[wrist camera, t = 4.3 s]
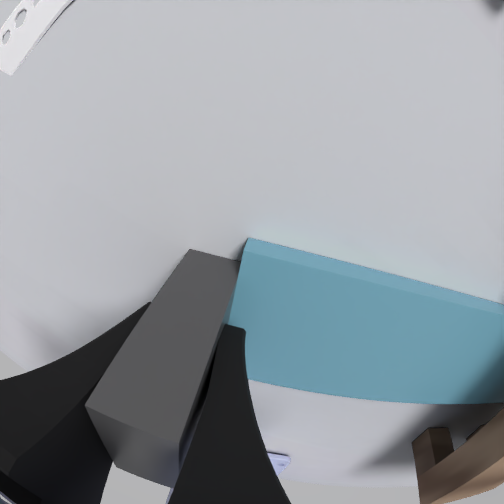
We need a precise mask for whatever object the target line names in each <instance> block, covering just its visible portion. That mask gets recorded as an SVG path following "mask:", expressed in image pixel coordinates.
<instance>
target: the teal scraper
mask: <svg viewBox="0 0 504 504" xmlns="http://www.w3.org/2000/svg"><path fill="white" fill-rule="evenodd" d="M225 324H228V325H232V326H236V327H240V328H244V330H245V331H246V337H245V359H246V370H247V377H248V379H250V380H255V381H259V382H263V383H268V384H273V385H278V386H282V387H288V388H293V389H298V390H304V391H310V392H315V393H322V394H328V395H335V396H342V397H350V398H358V399H367V400H377V401H389V402H402V403H421V404H483V403H501V402H504V305H503V304H499V303H496V302H492V301H489V300H485V299H482V298H478V297H474V296H471V295H467V294H463V293H460V292H456V291H453V290H449V289H445V288H442V287H438V286H434V285H430V284H427V283H423V282H419V281H416V280H412V279H408V278H404V277H401V276H397V275H393V274H389V273H386V272H382V271H378V270H374V269H370V268H366V267H363V266H359V265H355V264H351V263H347V262H343V261H340V260H336V259H332V258H328V257H324V256H320V255H316V254H312V253H308V252H304V251H300V250H296V249H292V248H288V247H284V246H280V245H276V244H272V243H268V242H264V241H260V240H256V239H252V238H248V240H247V243H246V246H245V248H244V251H243V255H242V260H241V262H239V261H235V260H231V259H227V258H223V257H219V256H215V255H211V254H207V253H204V252H200V251H196V250H192V249H189V251H188V252H187V254H186V255H185V256H184V258H183V259H182V260H181V262H180V263H179V265H178V266H177V267H176V269H175V270H174V271H173V273H172V274H171V276H170V277H169V278H168V280H167V281H166V283H165V284H164V285H163V287H162V288H161V290H160V291H159V292H158V294H157V295H156V297H155V298H154V300H153V301H152V303H151V304H150V305H149V307H148V308H147V310H146V311H145V313H144V314H143V316H142V317H141V318H140V320H139V321H138V323H137V324H136V326H135V327H134V329H133V330H132V332H131V333H130V335H129V336H128V338H127V339H126V341H125V342H124V344H123V345H122V347H121V348H120V350H119V351H118V353H117V354H116V356H115V358H114V359H113V361H112V362H111V364H110V365H109V367H108V368H107V370H106V372H105V373H104V375H103V376H102V378H101V379H100V381H99V383H98V384H97V386H96V387H95V389H94V391H93V392H92V394H91V396H90V397H89V399H88V400H87V402H86V404H85V407H86V409H87V412H88V414H89V416H90V418H91V420H92V422H93V424H94V426H95V428H96V430H97V432H98V434H99V436H100V438H101V440H102V442H103V444H104V446H105V448H106V450H107V451H108V453H109V455H110V457H111V459H112V460H113V462H114V464H115V465H116V467H117V468H120V469H122V470H124V471H127V472H129V473H132V474H134V475H137V476H139V477H142V478H144V479H147V480H150V481H153V482H155V483H158V484H161V485H164V486H167V487H170V488H173V489H174V487H175V484H176V481H177V479H178V476H179V473H180V471H181V468H182V465H183V463H184V460H185V457H186V455H187V452H188V449H189V446H190V444H191V441H192V438H193V435H194V433H195V430H196V427H197V424H198V421H199V418H200V415H201V413H202V410H203V407H204V404H205V401H206V397H207V393H208V389H209V384H210V379H211V375H212V370H213V365H214V360H215V355H216V351H217V346H218V341H219V338H220V335H221V333H222V330H223V328H224V325H225Z"/></svg>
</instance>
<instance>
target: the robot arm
mask: <svg viewBox="0 0 504 504" xmlns="http://www.w3.org/2000/svg"><path fill="white" fill-rule="evenodd" d="M151 303H152V302H149V303H147V304H146V305H144V306H143V307H141V308H140V309H139V310H137V311H136V312H134V313H133V314H132V315H130V316H129V317H127V318H126V319H125V320H123V321H122V322H120V323H119V324H117V325H116V326H114V327H113V328H111V329H110V330H108V331H107V332H105V333H104V334H102V335H101V336H99V337H98V338H96V339H94V340H93V341H91V342H89V343H88V344H86V345H85V346H83V347H81V348H79V349H78V350H76V351H74V352H72V353H70V354H68V355H66V356H65V357H62V358H60V359H58V360H56V361H54V362H52V363H50V364H47V365H45V366H42V367H40V368H37V369H35V370H32V371H30V372H27V373H24V374H21V375H18V376H14V377H11V378H8V379H4V380H0V494H1V495H2V496H3V497H4V498H6V499H7V500H8V501H9V502H11V503H12V504H100V502H101V498H102V494H103V490H104V487H105V484H106V481H107V477H108V474H109V471H110V468H111V465H112V462H113V460H112V459H111V457H110V455H109V453H108V451H107V450H106V448H105V446H104V444H103V442H102V440H101V438H100V436H99V434H98V432H97V430H96V428H95V426H94V424H93V422H92V420H91V418H90V416H89V414H88V412H87V409H86V407H85V404H86V402H87V400H88V399H89V397H90V396H91V394H92V392H93V391H94V389H95V387H96V386H97V384H98V383H99V381H100V379H101V378H102V376H103V375H104V373H105V372H106V370H107V368H108V367H109V365H110V364H111V362H112V361H113V359H114V358H115V356H116V354H117V353H118V351H119V350H120V348H121V347H122V345H123V344H124V342H125V341H126V339H127V338H128V336H129V335H130V333H131V332H132V330H133V329H134V327H135V326H136V324H137V323H138V321H139V320H140V318H141V317H142V316H143V314H144V313H145V311H146V310H147V308H148V307H149V305H150V304H151ZM245 337H246V331H245V330H244V328H240V327H236V326H232V325H228V324H225V325H224V328H223V330H222V333H221V335H220V338H219V341H218V346H217V351H216V355H215V360H214V365H213V370H212V375H211V379H210V384H209V389H208V393H207V397H206V401H205V404H204V407H203V410H202V413H201V415H200V418H199V421H198V424H197V427H196V430H195V433H194V435H193V438H192V441H191V444H190V446H189V449H188V452H187V455H186V457H185V460H184V463H183V465H182V468H181V471H180V473H179V476H178V479H177V481H176V484H175V487H174V489H173V488H171V489H170V492H169V495H168V498H167V501H166V504H291V503H290V501H289V499H288V497H287V496H286V493H285V491H284V489H283V487H282V486H281V483H280V481H279V479H278V477H277V476H278V475H279V474H280V473H281V472H282V471H283V470H284V469H285V468H286V467H287V466H288V465H289V464H290V460H291V458H290V457H288V456H284V455H277V454H271V453H267V451H266V448H265V445H264V443H263V440H262V437H261V434H260V431H259V427H258V424H257V420H256V417H255V413H254V409H253V404H252V400H251V395H250V390H249V384H248V377H247V370H246V359H245ZM0 504H8V503H7V502H5V501H4V500H2V499H1V498H0Z"/></svg>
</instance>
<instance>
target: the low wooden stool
mask: <svg viewBox="0 0 504 504" xmlns="http://www.w3.org/2000/svg"><path fill="white" fill-rule="evenodd" d="M466 440H467V442H465V443H464V444H463V445H462V446H460V447H459V448H458V449H457V450H455V451H454V448H453V444H452V440H451V436H450V432H449V429H448V428H428V429H427V430H426V431H425V432H424V433H422V434H421V435H420V436H419V437H418V438H417V439H415V440H414V441H413V442H412V447H413V453H414V459H415V466H416V473H417V480H418V488H419V497H420V504H444V503H448V502H452V501H455V500H459V499H463V498H467V497H470V496H473V495H477V494H480V493H483V492H486V491H489V490H491V489H494V488H496V487H497V486H499V485H500V484H502V483H503V482H504V408H503V409H502V410H501V411H500V412H499V413H498V414H497V415H496V416H495V417H493V418H492V419H491V420H490V421H489V422H488V423H487V424H486V425H482V426H480V427H479V428H478V429H477V430H476V431H475V432H474V433H473V434H471V435H470V436H469V437H468V438H467V439H466Z"/></svg>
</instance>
